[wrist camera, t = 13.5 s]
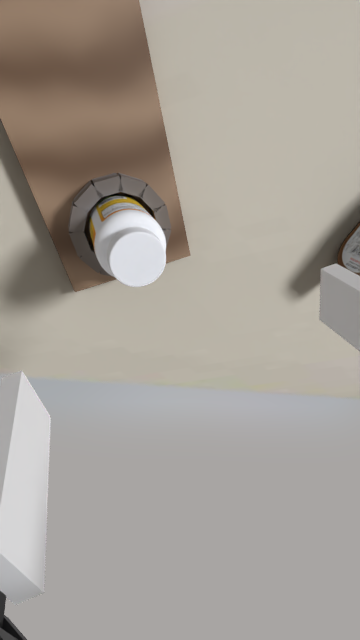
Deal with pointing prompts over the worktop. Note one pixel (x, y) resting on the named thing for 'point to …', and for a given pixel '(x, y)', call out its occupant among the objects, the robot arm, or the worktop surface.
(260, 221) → the worktop surface
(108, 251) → the supplement bottle
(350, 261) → the tin
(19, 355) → the worktop surface
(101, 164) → the board
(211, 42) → the worktop surface
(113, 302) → the worktop surface
